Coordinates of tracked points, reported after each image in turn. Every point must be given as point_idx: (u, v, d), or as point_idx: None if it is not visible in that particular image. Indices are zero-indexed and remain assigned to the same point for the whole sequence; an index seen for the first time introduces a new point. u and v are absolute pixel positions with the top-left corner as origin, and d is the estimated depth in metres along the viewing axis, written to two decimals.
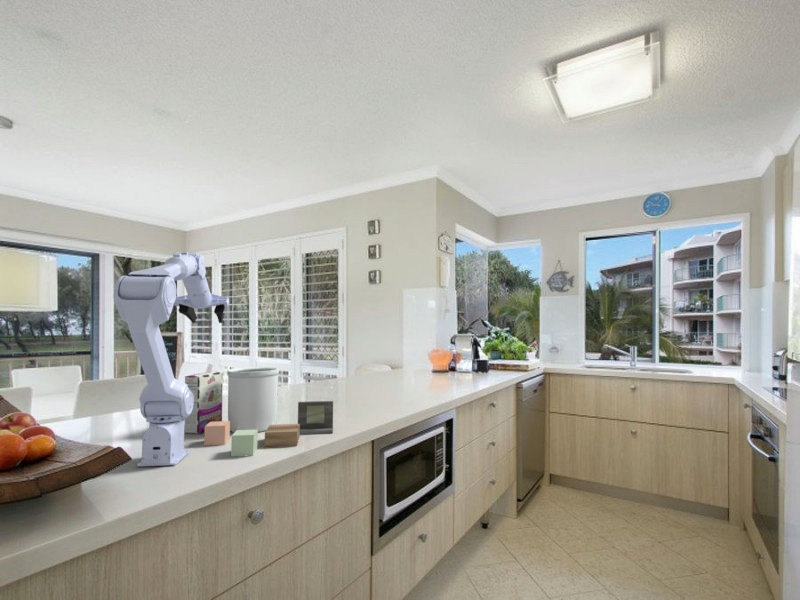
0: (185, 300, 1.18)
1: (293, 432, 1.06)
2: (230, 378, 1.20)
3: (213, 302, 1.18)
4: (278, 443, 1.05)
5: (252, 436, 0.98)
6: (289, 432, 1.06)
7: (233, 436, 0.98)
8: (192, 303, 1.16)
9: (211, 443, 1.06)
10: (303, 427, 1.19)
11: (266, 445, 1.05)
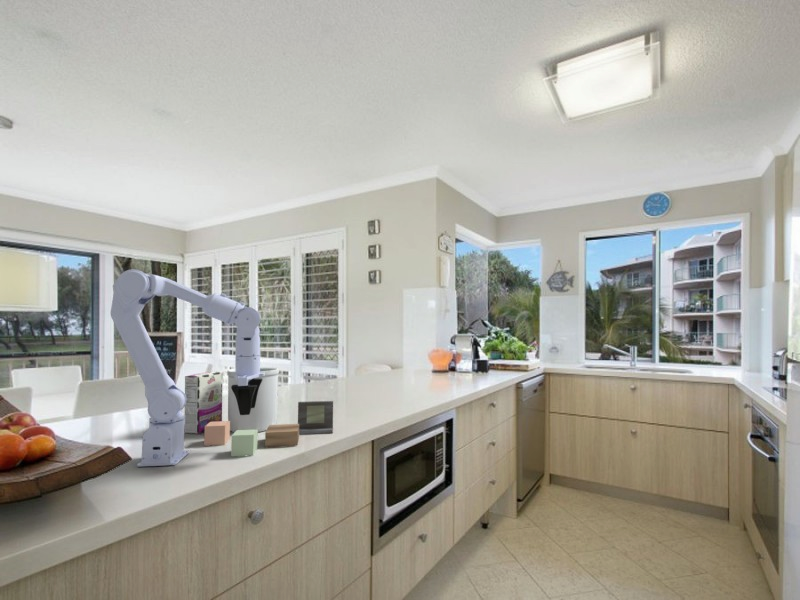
0: None
1: (294, 432, 1.06)
2: (230, 378, 1.20)
3: None
4: (279, 443, 1.05)
5: (252, 436, 0.98)
6: (290, 432, 1.06)
7: (233, 436, 0.98)
8: None
9: (211, 443, 1.06)
10: (303, 427, 1.19)
11: (266, 445, 1.05)
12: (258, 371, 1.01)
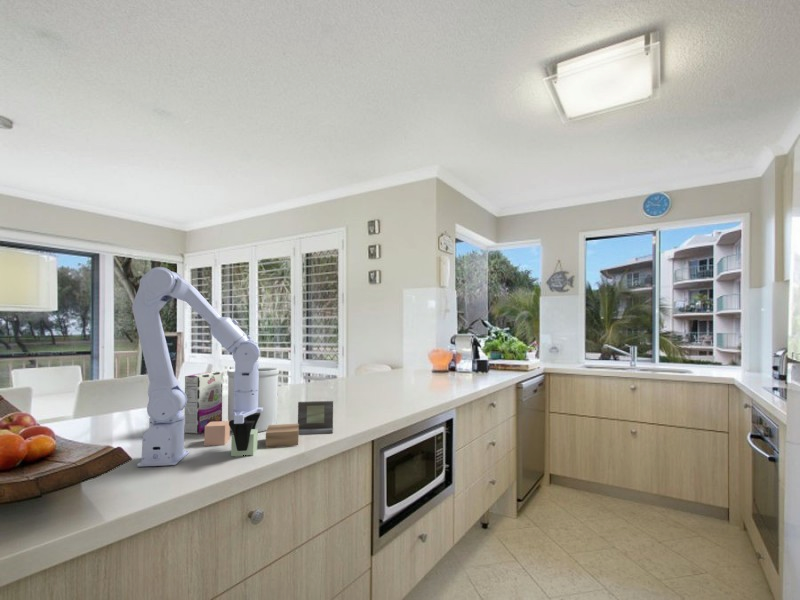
0: None
1: (294, 432, 1.06)
2: (230, 378, 1.20)
3: (239, 413, 0.97)
4: (279, 443, 1.05)
5: (252, 436, 0.98)
6: (290, 432, 1.06)
7: (233, 436, 0.98)
8: None
9: (211, 443, 1.06)
10: (303, 427, 1.19)
11: (267, 445, 1.05)
12: (256, 406, 1.00)
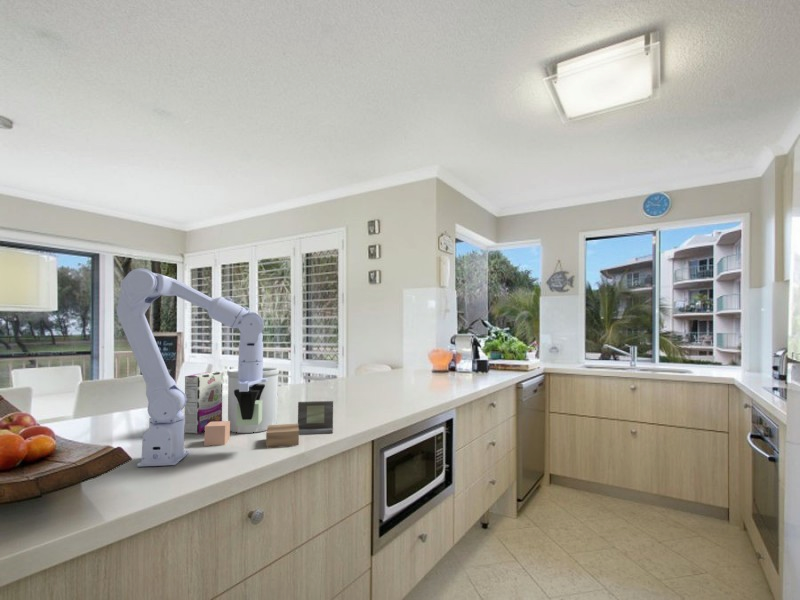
0: None
1: (295, 432, 1.06)
2: (230, 378, 1.20)
3: None
4: (280, 443, 1.05)
5: (257, 405, 0.99)
6: (291, 432, 1.06)
7: (238, 405, 0.99)
8: None
9: (211, 443, 1.06)
10: (303, 427, 1.19)
11: (267, 445, 1.04)
12: (260, 377, 1.01)
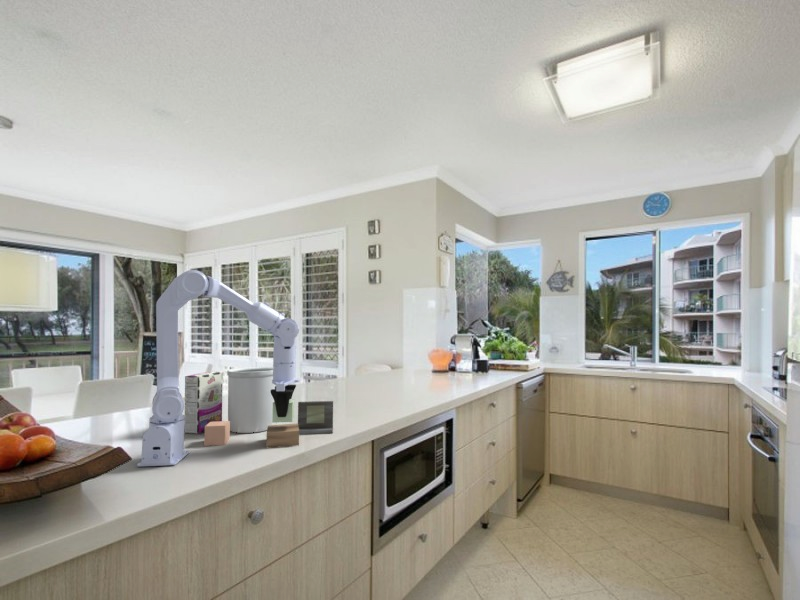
0: None
1: (295, 431, 1.06)
2: (230, 378, 1.20)
3: None
4: (280, 443, 1.05)
5: (291, 404, 1.08)
6: (291, 432, 1.06)
7: (274, 403, 1.07)
8: None
9: (211, 443, 1.06)
10: (303, 427, 1.19)
11: (268, 445, 1.04)
12: (293, 377, 1.10)
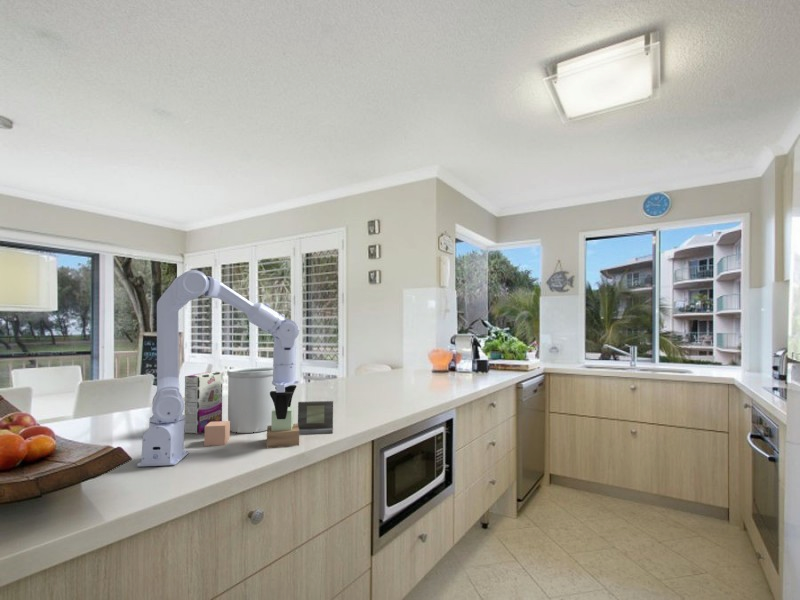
0: None
1: (295, 432, 1.06)
2: (230, 378, 1.20)
3: None
4: (280, 443, 1.05)
5: (290, 412, 1.07)
6: (291, 432, 1.06)
7: (273, 412, 1.07)
8: None
9: (211, 443, 1.06)
10: (303, 427, 1.19)
11: (268, 446, 1.04)
12: (293, 379, 1.10)
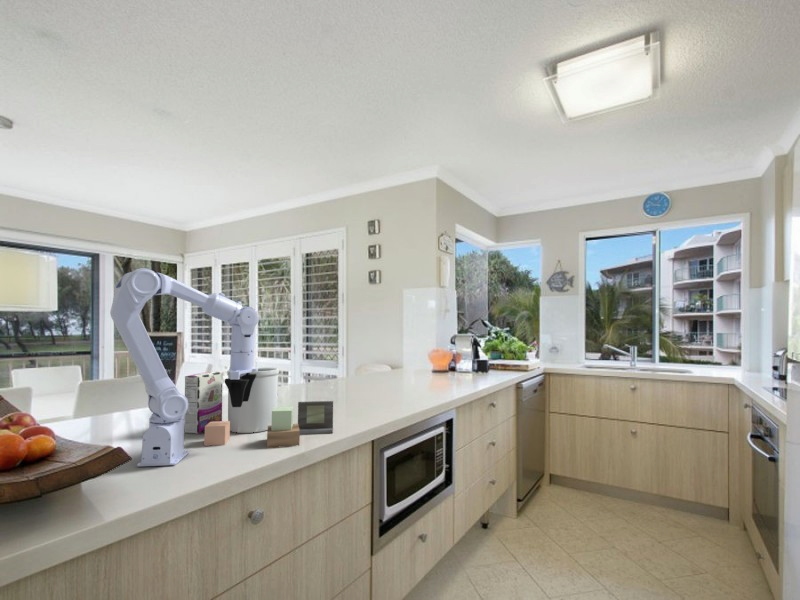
0: None
1: (295, 432, 1.06)
2: None
3: None
4: (280, 443, 1.05)
5: (290, 412, 1.08)
6: (291, 432, 1.06)
7: (273, 412, 1.07)
8: None
9: (211, 443, 1.06)
10: (303, 427, 1.19)
11: (268, 446, 1.04)
12: (251, 366, 1.08)
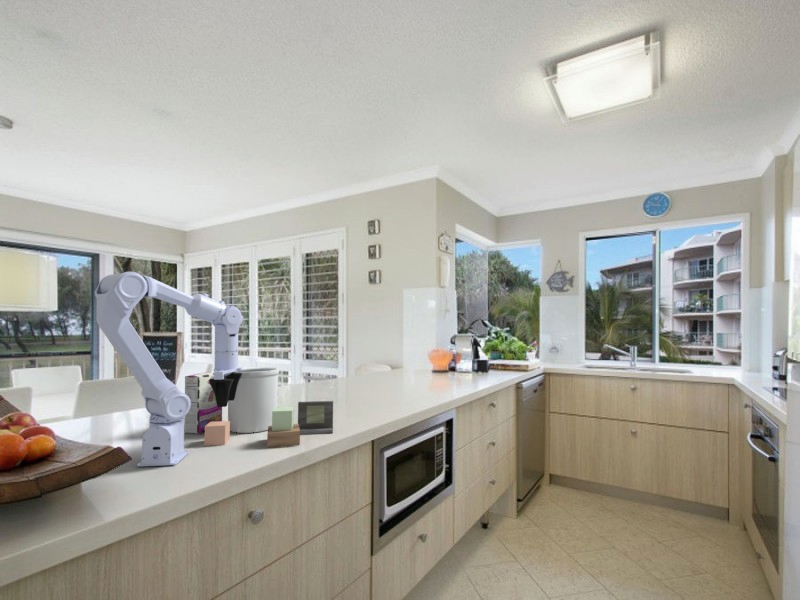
0: None
1: (296, 432, 1.06)
2: None
3: None
4: (281, 443, 1.05)
5: (291, 412, 1.08)
6: (292, 432, 1.06)
7: (273, 412, 1.07)
8: None
9: (211, 443, 1.06)
10: (303, 427, 1.19)
11: (269, 446, 1.04)
12: (236, 366, 1.08)
